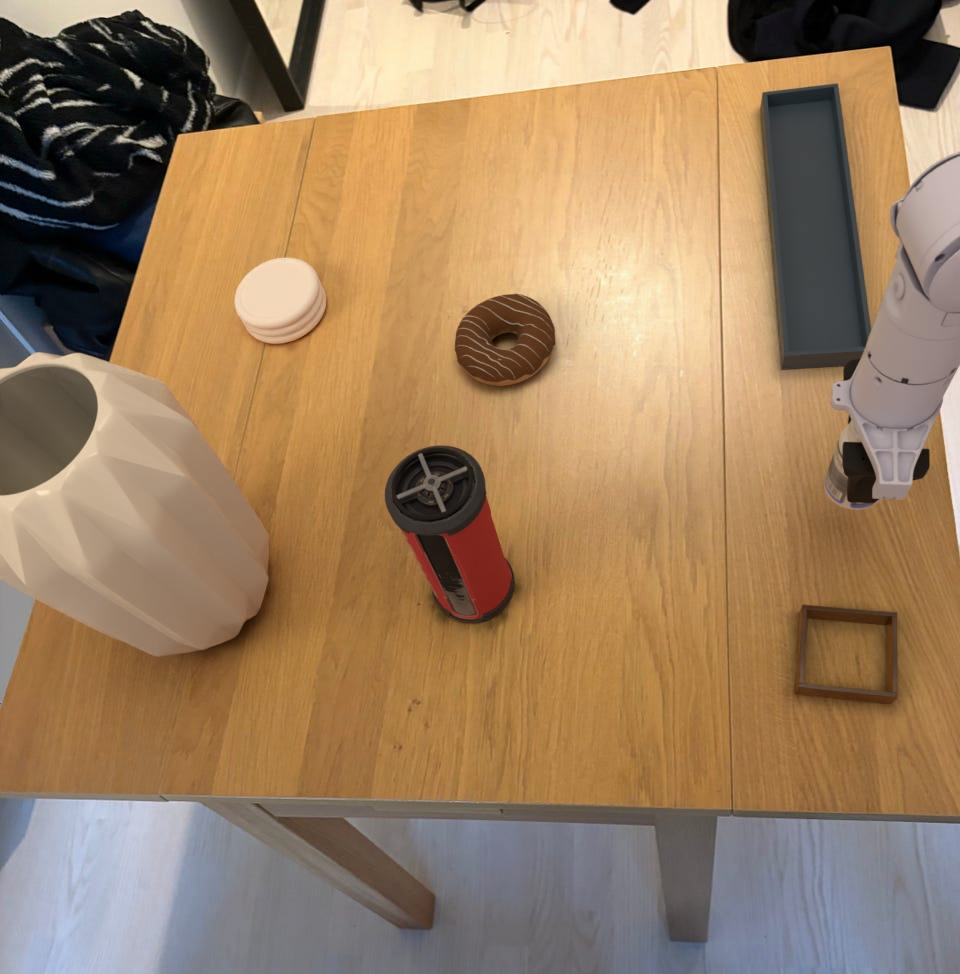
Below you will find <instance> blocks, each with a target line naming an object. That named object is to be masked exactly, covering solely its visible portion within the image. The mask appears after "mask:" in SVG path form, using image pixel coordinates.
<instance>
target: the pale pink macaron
mask: <svg viewBox="0 0 960 974" xmlns="http://www.w3.org/2000/svg"><path fill="white" fill-rule="evenodd" d="M234 293H235V294H234V302H233V303H234V308H235V312H236V314H237V316H238V318H239V319H240V321H241V322H242V324H243V326H244V327H245V329H246V331H247V332H248V333H249V334H250V335H251V336H252V337H253V338H254V339H256V340H258V341H260V342H262V343H266V344H271V345H272V344H273V345H278V344H279V345H280V344H286V343H290V342H293V341H296V340H298V339H300V338H302V337H304V336H306V335H307V334H308V333H309V332H311V331H313V329H314V328H315V327H316V326H317V325H318V324H319V322H321V320H322V318H323V317H324V314H325V312H326V308H327V294H326V291H325V288H324V287H323V284H322V281H321V279H320V278H319V275H318V273H317V271H316V269H314V267H313V266H312V265H311V264H310V263H308V262H307V261H305V260H302V259H299V258H296V257H277V258H273V259H269V260H267V261H264V262H261V263H260V264H258V265H256V266H255V267H254V268H252V269H251V270H250V271H249V272H248V273H246V274H245V276H244V277H243V278H242V279H241V280H240V283H239V284H238V286H237V288H236V291H235V292H234Z"/></svg>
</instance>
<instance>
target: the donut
mask: <svg viewBox="0 0 960 974" xmlns="http://www.w3.org/2000/svg"><path fill="white" fill-rule="evenodd" d="M502 334H514V335H517V342H516V344H515V345H514V346H513V347H511V348H508V349H507V348H501V347H497V346H494V343H493V340H494V339H495V338H496V337H498V336H500V335H502ZM454 339H455V340H454V352H455V355H456V359H457V363H458V364H459V365H460V366H461V367H462V369H463V370H464V371H465V372H466V374H467V375H469V376H470V377H472V379H474V380H475V381H478V382H481V383H483V384H485V385H491V386H497V387H498V386H499V387H501V386H512V385H515V384H519V383H521V382H524V381H526V380H527V379H530V378H531V377H533V376H534V375H536V374H537V373H538V372H539V371H540V370H541V369H542V368H543V367H544V366H545V365H546V364H547V362H548V360H549V358H550V357H551V355H552V353H553V349H554V347H555V346H556V345H557V344H556V328H555V325H554V323H553V321H552V318H551V316H550V314H549V312H548V310H547V309H545V307H544V306H543V305H542V304H541V303H539V301H537V300H535V299H534V298H532V297H529V296H527V295H524V294H520V293H509V294H501V295H497V296H494V297H491V298H487V299H486V300H483V301H481V302H480V303H478V304H476V305H475V306H473V307H472V308H471V309H470V310H469V311H468V312H467V313H466V314H465V315H464V316H463V317H462V318H461V320H460V322H459V324H458V326H457V328H456V332H455V338H454Z"/></svg>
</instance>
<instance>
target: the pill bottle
mask: <svg viewBox="0 0 960 974" xmlns="http://www.w3.org/2000/svg"><path fill="white" fill-rule="evenodd" d="M843 442H861V439H860V437H859V435H858V433H857V431H856V429H855V426H854V424H853V422H852V420H851V422H850V423H849V424H848V423H847V425H846V426H845V427H844V429H842V430H841V433H840V435H839V437H838V441H837V442H836V445H835V448H834V450H833V454H832V456H831V459H830V462H829V464H828V465H829V466H828V467H827V471H826V474H825V476H824V481H823V488H824V491H825V494H826V495H827V497H828V498H829V500H831V502H832V503H833V504H836V505H837V506H839V507H841V508H844V509H846V510H854V511H862V510H867V509H869V508H872V507H874V506H875V505H877V504H878V503H879V502H880V501H881V500H882V499H879V500H878V501H876V502H875V503H855V502H848V500H847V482H848V477H847V476H846V475H845V474H844V470H843V465H842V446H843Z"/></svg>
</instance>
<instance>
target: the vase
mask: <svg viewBox="0 0 960 974" xmlns="http://www.w3.org/2000/svg"><path fill="white" fill-rule="evenodd" d="M269 557H270V533H269V532H268V531H267V529H266V527H265V525H264V524H263V522H262V521H261V519H260V517H259V516H258V514H257V512H256V511H255V509H254V508H253V506H252V505H251V503H250V502H249V500H248V499H247V497H246V496H245V495H244V493H243V492H242V489H240V487H239V485H238V484H237V483H236V481H235V479H234V478H233V477H232V475H231V473H230V472H229V471H228V469H227V468H226V466H225V465H224V463H223V462H222V460H221V459H220V457H219V456H218V455H217V453H216V452H215V450H214V449H213V448H212V446H211V445H210V443H209V442H208V440H207V439H206V438H205V436H204V435H203V433H202V432H201V430H200V428H199V427H198V425H197V424H196V423H195V422H194V420H193V419H192V417H191V416H190V414H189V413H188V411H187V410H186V409H185V408H184V405H182V404H181V402H180V401H179V400H178V398H177V397H176V395H175V393H174V392H173V391H172V390H171V389H170V388H169V386H168V385H167V384H166V383H165V382H164V381H163V380H161V379H158V378H156V377H153V376H151V375H147V374H145V373H143V372H139V371H136V370H133V369H130V368H128V367H125V366H121V365H119V364H116V363H113V362H110V361H107V360H104V359H101V358H98V357H95V356H93V355H90V354H89V355H88V354H85V353H82V352H74V353H69V354H66V355H60V354H54V353H49V352H41V351H36V352H34V353H32V354H30V355H29V356H27V357H26V358H25V359H24V360H22V361H21V362H20V363H19V364H17V365H16V366H14V367H3V368H0V581H2V582H3V583H5V584H7V585H8V586H10V587H12V588H14V589H15V590H17V591H19V592H21V593H23V594H25V595H26V596H29V597H31V598H33V599H34V600H37V601H38V602H40V603H42V604H44V605H46V606H48V607H50V608H52V609H53V610H55V611H57V612H59V613H60V614H63V615H65V616H66V617H69V618H71V619H72V620H74V621H77V622H78V623H81V624H83V625H84V626H86V627H89V628H91V629H93V630H94V631H96V632H99V633H101V634H103V635H106V636H107V637H110V638H112V639H113V640H116V641H120V642H123V643H126V644H127V645H129V646H131V647H134V648H136V649H138V650H140V651H142V652H145V653H146V654H148V655H151V656H152V657H156V658H158V657H160V658H161V657H167V656H174V655H180V654H181V655H182V654H187V653H193V652H200V651H206V650H208V649H210V648H212V647H215V646H218V645H220V644H222V643H226V642H228V641H231V640H232V639H235V638H237V637H238V635H239V634H240V632H241V630H242V628H243V627H244V624H245V622H247V621H249V620H250V619H252V618H254V617H256V616H257V615H258V613H259V611H260V609H261V607H262V603H263V600H264V597H265V593H266V590H267V587H268V583H269V581H270V578H269V574H268V573H269Z"/></svg>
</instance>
